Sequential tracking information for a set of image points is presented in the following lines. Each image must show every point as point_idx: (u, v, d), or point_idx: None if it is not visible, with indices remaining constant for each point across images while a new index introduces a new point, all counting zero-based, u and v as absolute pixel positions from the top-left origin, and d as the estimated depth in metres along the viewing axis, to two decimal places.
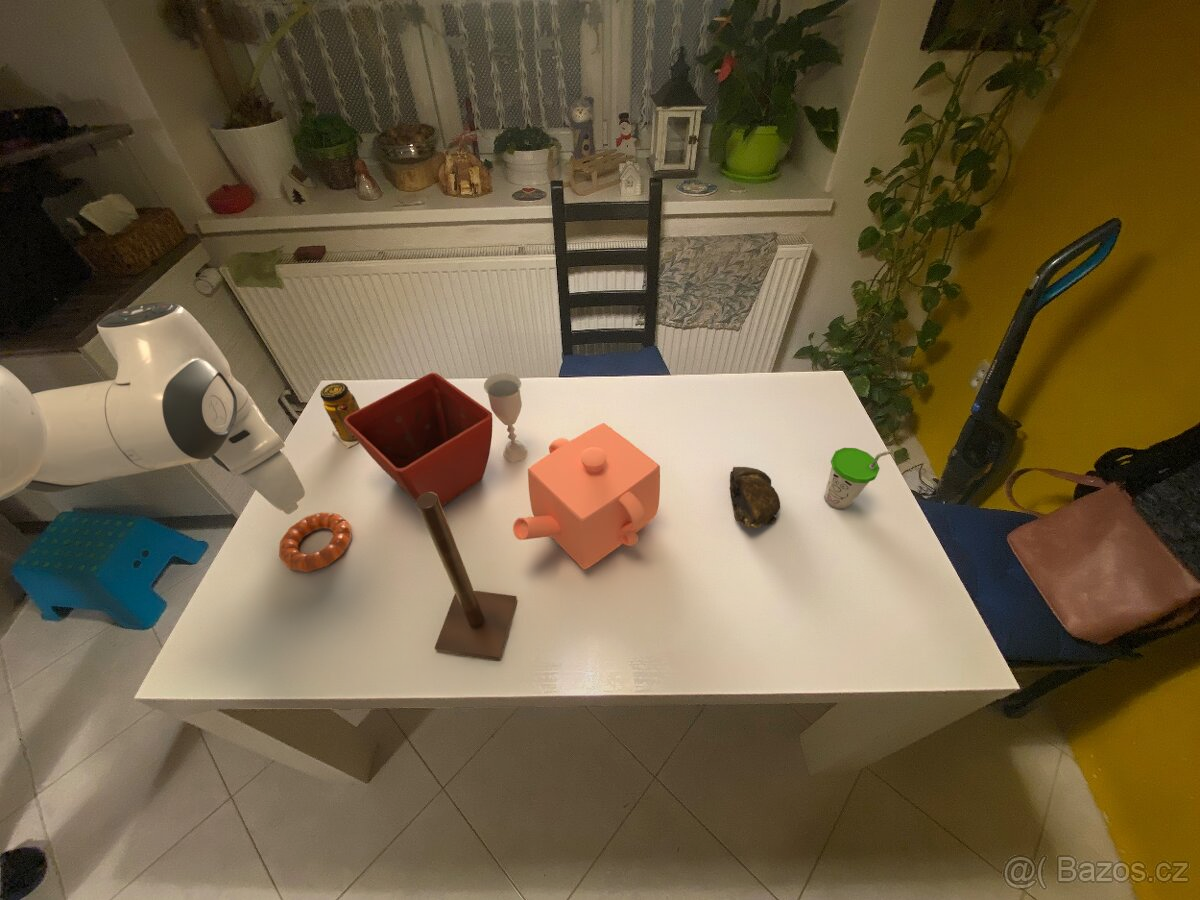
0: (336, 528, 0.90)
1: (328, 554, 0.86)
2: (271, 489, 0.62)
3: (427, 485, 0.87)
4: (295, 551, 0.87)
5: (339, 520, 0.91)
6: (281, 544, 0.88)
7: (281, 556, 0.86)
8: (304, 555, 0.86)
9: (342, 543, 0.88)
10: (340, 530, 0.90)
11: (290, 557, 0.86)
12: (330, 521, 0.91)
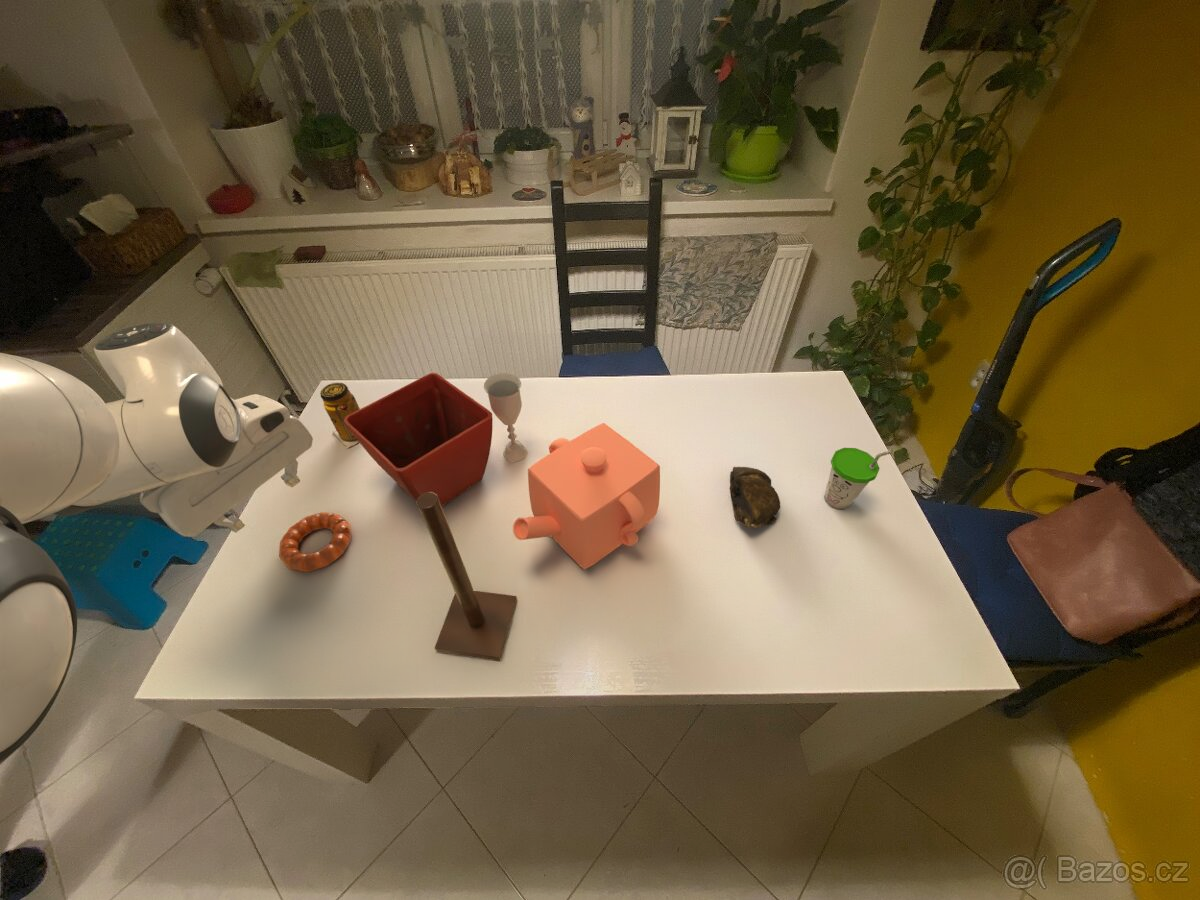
0: (336, 528, 0.90)
1: (328, 554, 0.86)
2: None
3: (427, 485, 0.87)
4: (295, 551, 0.87)
5: (339, 520, 0.91)
6: (281, 544, 0.88)
7: (281, 556, 0.86)
8: (304, 555, 0.86)
9: (342, 543, 0.88)
10: (340, 530, 0.90)
11: (290, 557, 0.86)
12: (330, 521, 0.91)
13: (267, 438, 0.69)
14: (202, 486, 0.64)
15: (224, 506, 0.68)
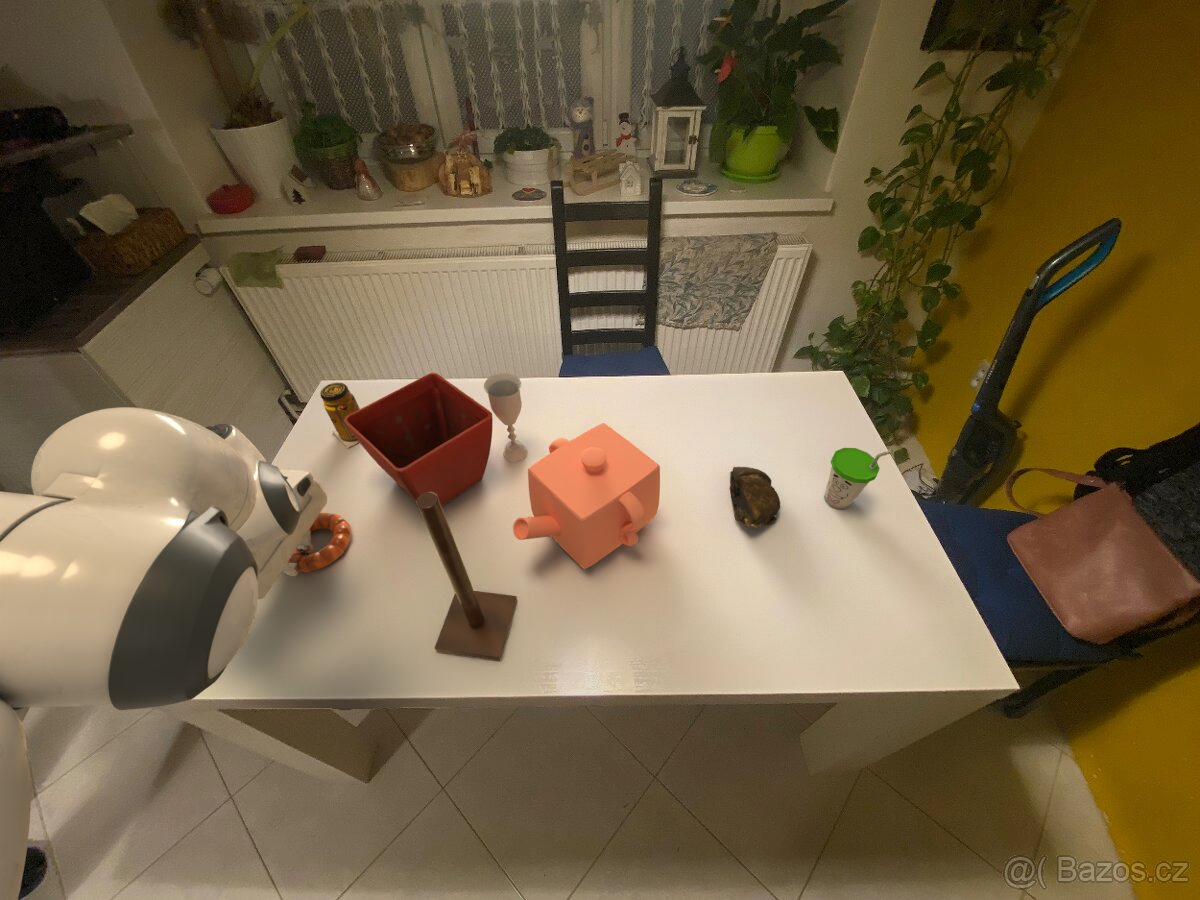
0: (336, 528, 0.90)
1: (328, 554, 0.86)
2: None
3: (427, 485, 0.87)
4: (295, 551, 0.87)
5: (339, 520, 0.91)
6: None
7: None
8: (304, 555, 0.86)
9: (341, 543, 0.88)
10: (340, 530, 0.89)
11: None
12: (330, 521, 0.91)
13: (301, 501, 0.81)
14: (264, 553, 0.75)
15: (279, 567, 0.79)
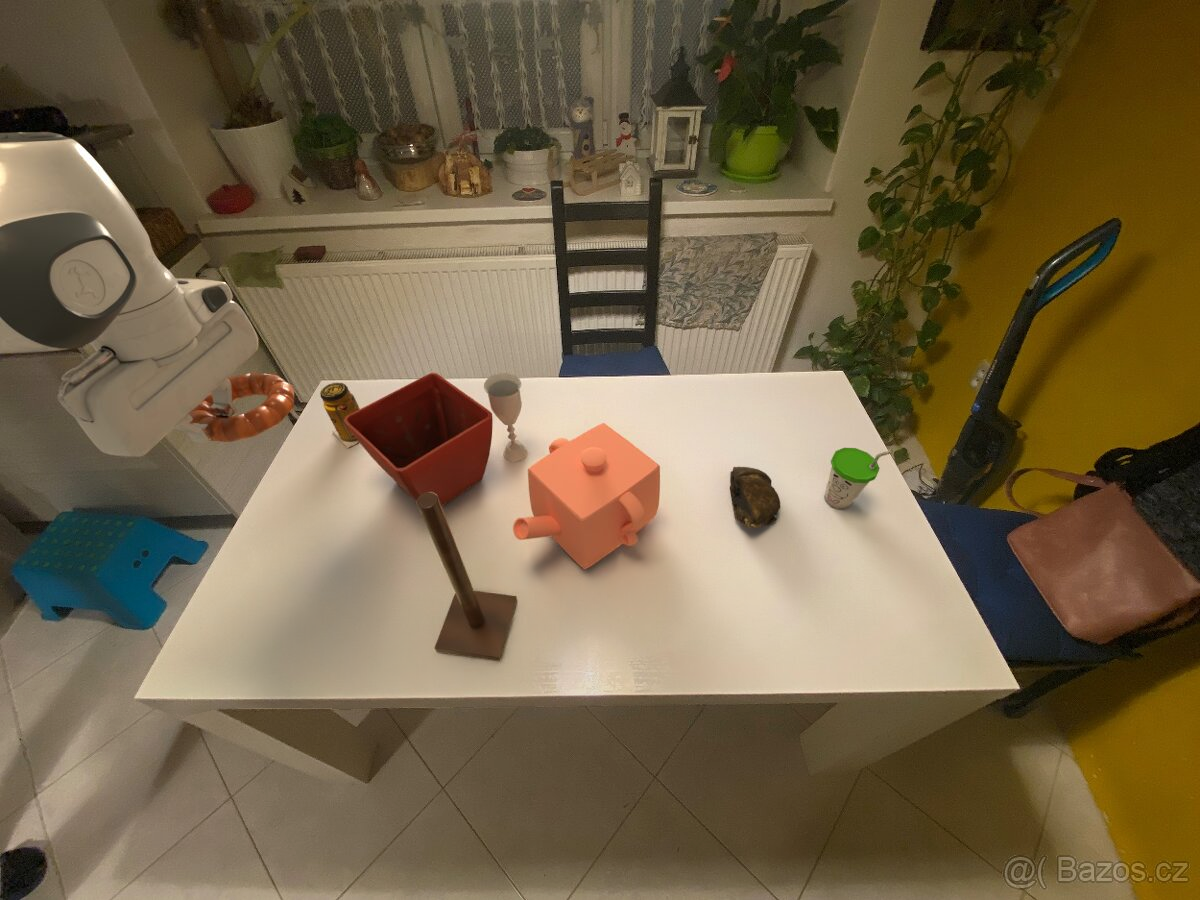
0: (272, 388, 0.63)
1: (258, 417, 0.59)
2: None
3: (427, 485, 0.87)
4: (208, 414, 0.60)
5: (278, 380, 0.64)
6: None
7: None
8: (221, 418, 0.59)
9: (279, 406, 0.61)
10: (278, 390, 0.62)
11: (199, 419, 0.58)
12: (265, 381, 0.64)
13: (211, 323, 0.54)
14: (142, 382, 0.48)
15: (173, 415, 0.51)
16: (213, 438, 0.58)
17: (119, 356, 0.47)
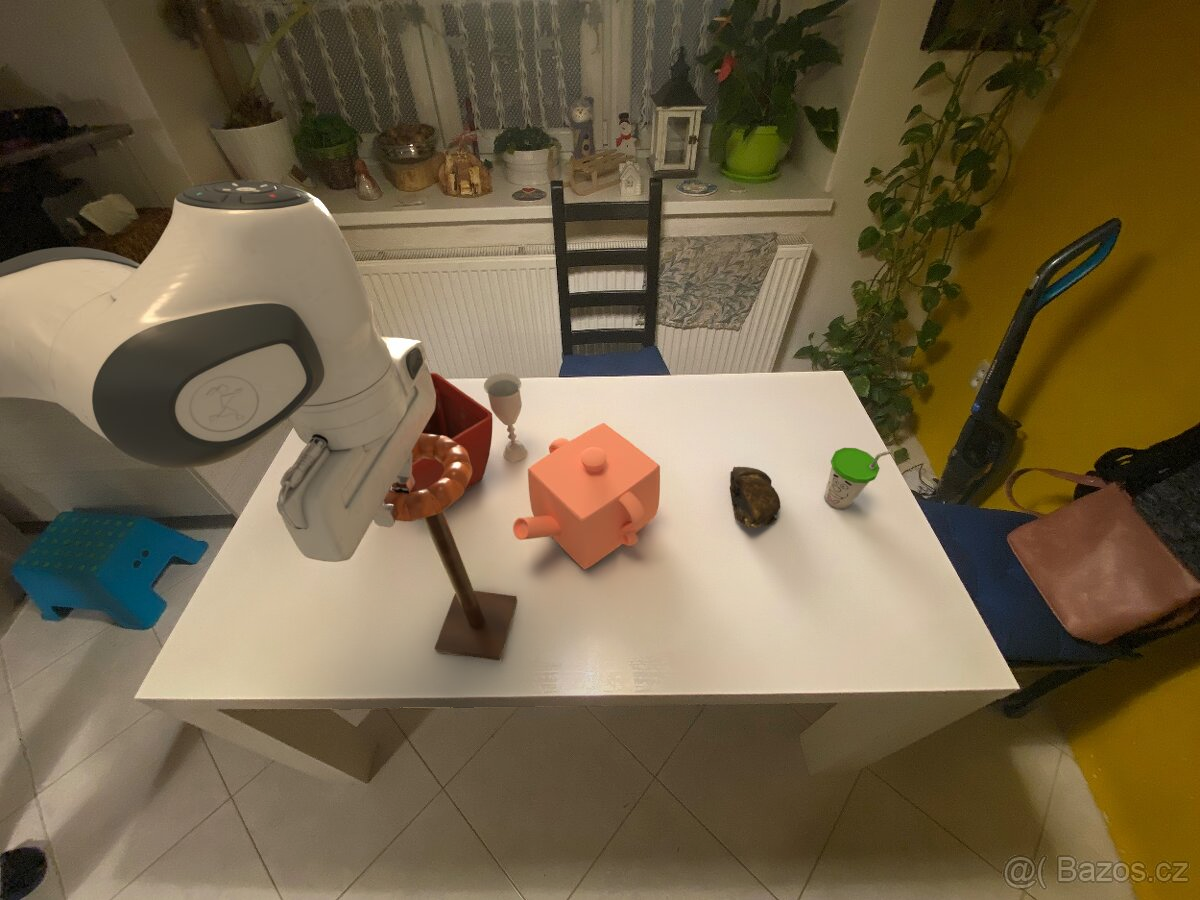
0: (449, 455, 0.54)
1: (444, 492, 0.51)
2: None
3: (427, 485, 0.87)
4: None
5: (452, 443, 0.56)
6: None
7: None
8: (403, 494, 0.51)
9: (462, 477, 0.53)
10: (457, 457, 0.54)
11: None
12: (437, 445, 0.56)
13: None
14: (352, 473, 0.40)
15: (374, 505, 0.43)
16: None
17: (331, 445, 0.39)
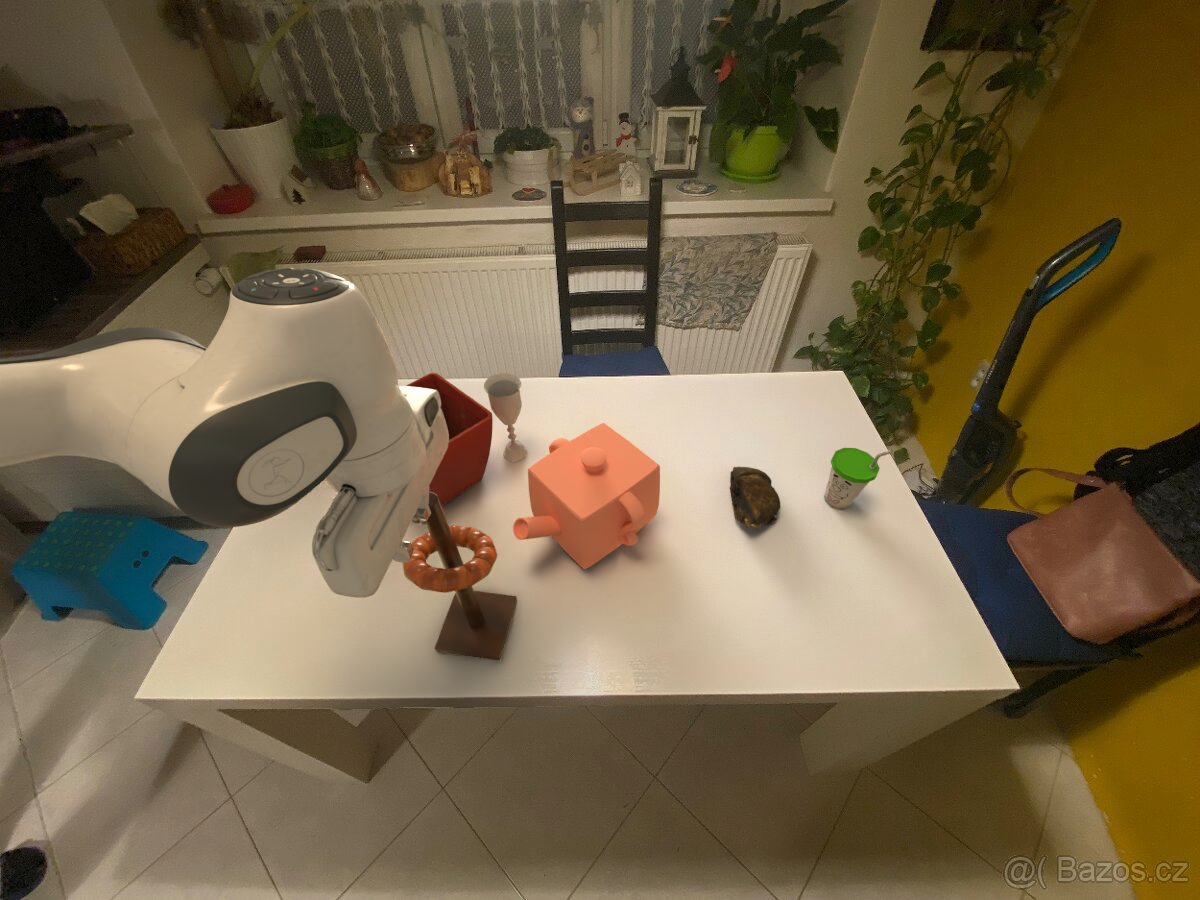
0: (480, 541, 0.67)
1: (476, 569, 0.63)
2: None
3: None
4: (428, 564, 0.63)
5: (482, 533, 0.69)
6: None
7: (409, 569, 0.62)
8: (442, 569, 0.62)
9: (490, 558, 0.65)
10: (486, 544, 0.67)
11: (424, 570, 0.62)
12: (469, 534, 0.69)
13: None
14: (377, 517, 0.44)
15: (395, 543, 0.47)
16: (434, 588, 0.61)
17: (358, 493, 0.43)
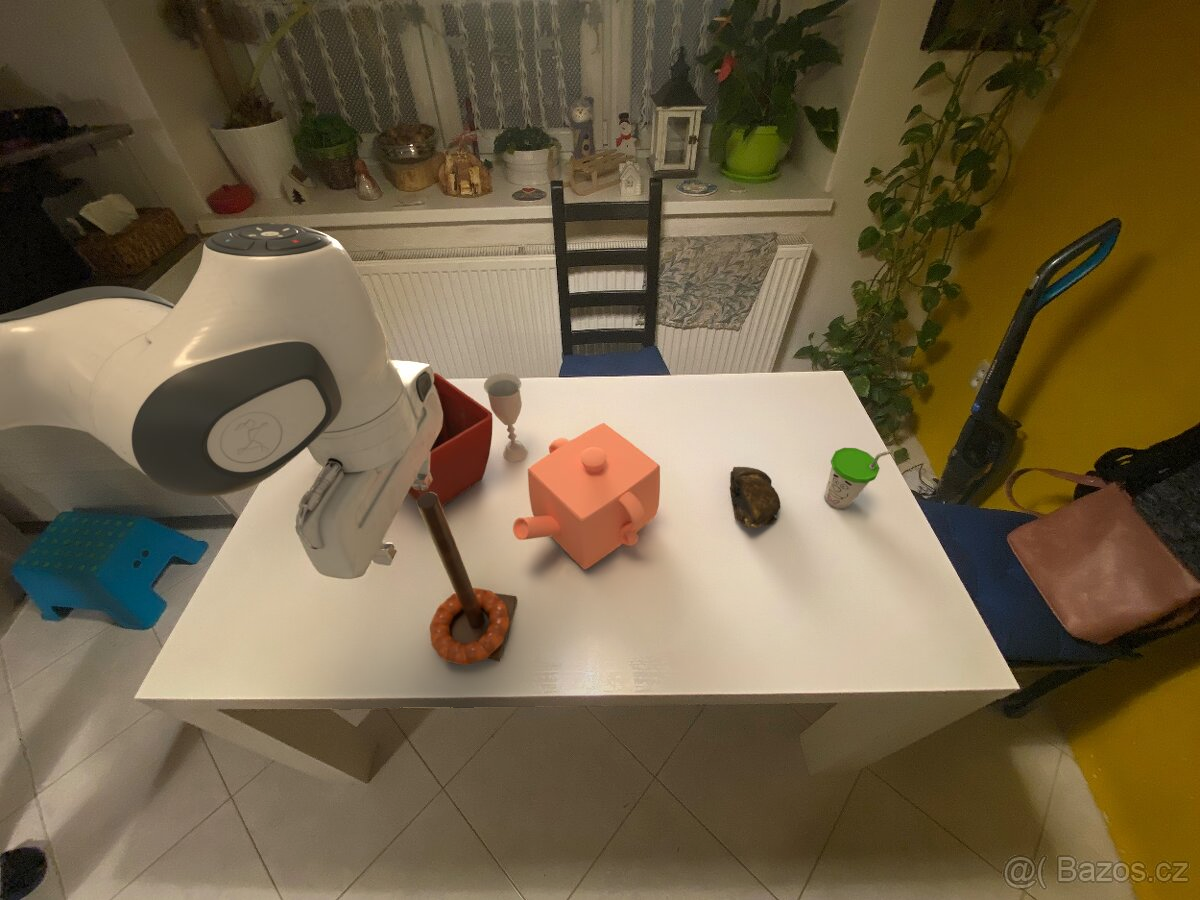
0: (493, 611, 0.77)
1: (490, 645, 0.74)
2: None
3: None
4: (450, 639, 0.74)
5: (495, 600, 0.78)
6: (433, 629, 0.75)
7: (435, 645, 0.74)
8: (462, 645, 0.73)
9: (502, 630, 0.75)
10: (499, 614, 0.77)
11: (447, 647, 0.73)
12: (485, 601, 0.78)
13: None
14: (366, 494, 0.42)
15: (385, 523, 0.45)
16: None
17: (345, 468, 0.40)
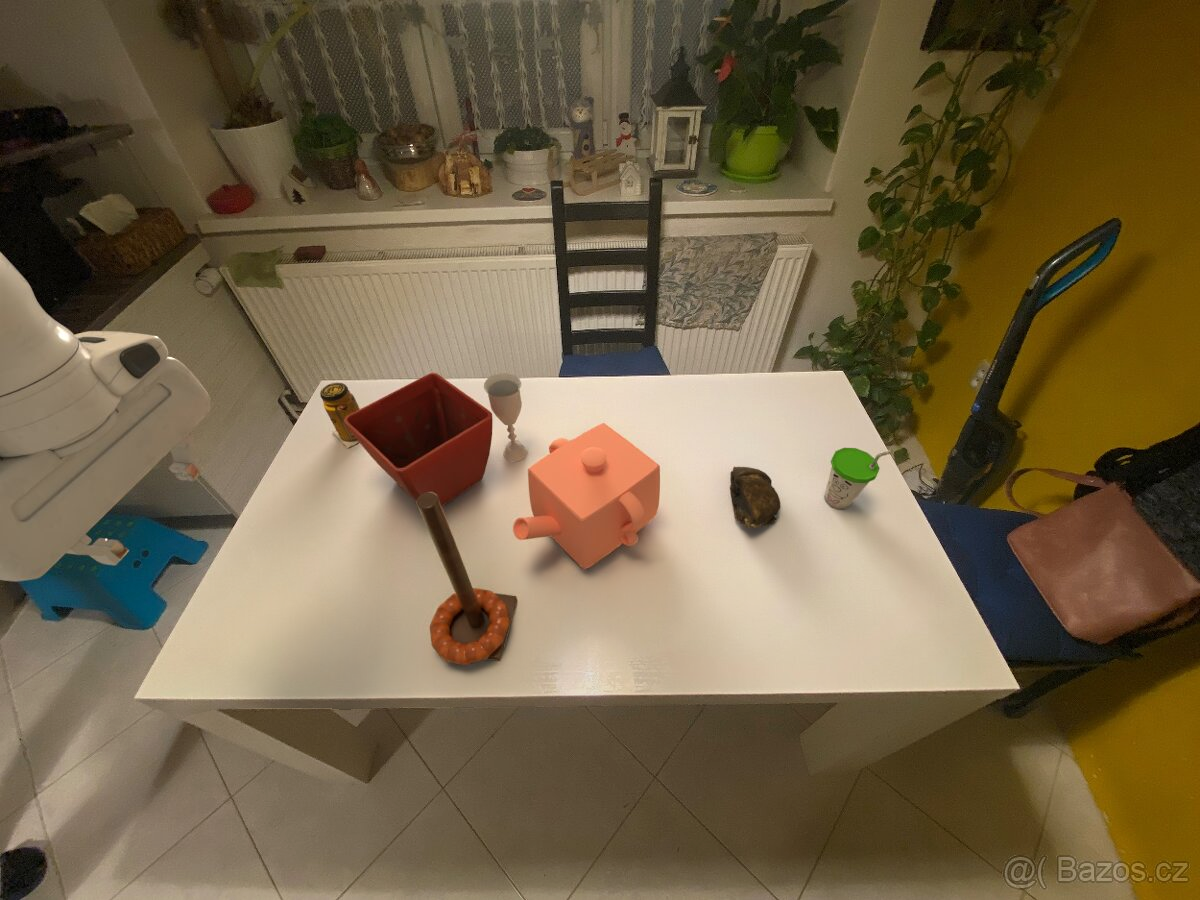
0: (493, 611, 0.77)
1: (490, 645, 0.74)
2: None
3: (427, 485, 0.87)
4: (450, 639, 0.74)
5: (495, 600, 0.78)
6: (433, 629, 0.75)
7: (435, 645, 0.74)
8: (462, 645, 0.73)
9: (502, 630, 0.75)
10: (499, 614, 0.77)
11: (447, 647, 0.73)
12: (485, 601, 0.78)
13: (138, 390, 0.41)
14: (33, 483, 0.36)
15: (85, 517, 0.39)
16: None
17: None
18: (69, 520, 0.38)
